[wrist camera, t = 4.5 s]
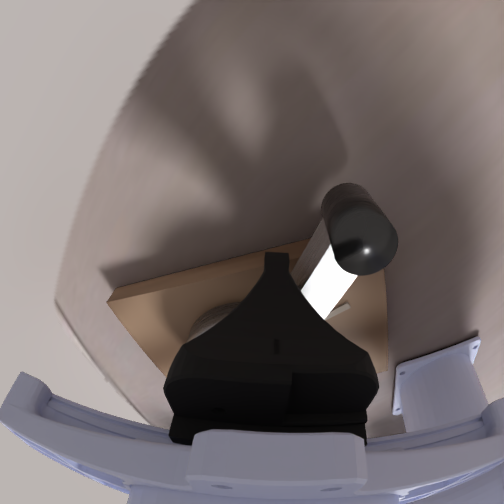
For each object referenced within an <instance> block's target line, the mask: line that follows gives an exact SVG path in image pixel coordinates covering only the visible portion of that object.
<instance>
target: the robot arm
mask: <svg viewBox="0 0 504 504" xmlns="http://www.w3.org/2000/svg"><path fill="white" fill-rule="evenodd" d="M289 263H290V259H289V253H282V252H265V257H264V271H263V273H262V275H261V276H260V278H259V280H258V281H257V283H256V284H255V285H254V287H253V288H252V289H251V291H250V292H249V293H248V295H247V296H246V297H245V298H244V299H243V300H242V301H241V302H240V304H239V305H238V306H237V307H236V308H235V309H233V310H232V311H231V312H230V313H229V314H228V315H227V316H226V317H225V318H223V319H222V320H221V321H220V322H218V323H217V324H216V325H214V326H213V327H211V328H210V329H209V330H207V331H206V332H204V333H203V334H201V335H199V336H198V337H196V338H194V339H192V340H190V341H189V342H187V343H185V344H183V345H182V346H181V347H180V349H179V351H178V352H177V354H176V356H175V358H174V360H173V362H172V364H171V366H170V368H169V371H168V374H167V378H166V381H165V384H164V387H163V389H164V394H165V396H166V398H167V400H168V402H169V405H170V407H171V409H172V411H173V413H174V416H173V420H172V423H171V427H170V430H168V429H163V428H159V427H154V426H150V425H146V424H142V423H138V422H134V421H130V420H127V419H123V418H120V417H116V416H113V415H110V414H107V413H103V412H100V411H97V410H94V409H91V408H88V407H86V406H83V405H80V404H78V403H75V402H72V401H70V400H67V399H65V398H62V397H60V396H57V395H55V394H53V393H52V392H51V390H50V389H49V388H48V386H47V385H46V384H44V383H43V382H42V381H41V380H39V379H37V378H35V377H33V376H31V375H29V374H26V373H24V372H20V374H19V376H18V377H17V379H16V381H15V382H14V384H13V386H12V388H11V390H10V391H9V393H8V395H7V397H6V399H5V400H4V402H3V404H2V406H1V408H0V422H1V423H2V424H3V425H4V426H5V427H7V428H8V429H9V430H10V431H11V432H12V433H14V434H15V435H16V436H17V437H19V438H20V439H21V440H22V441H24V442H25V443H26V444H27V445H29V446H30V447H32V448H33V449H35V450H37V451H38V452H40V453H42V454H43V455H45V456H47V457H49V458H50V459H52V460H54V461H56V462H58V463H60V464H61V465H63V466H65V467H67V468H69V469H71V470H73V471H75V472H77V473H80V474H81V475H83V476H86V477H88V478H90V479H92V480H94V481H96V482H99V483H101V484H104V485H106V486H108V487H111V488H113V489H116V490H119V491H121V492H124V493H127V494H129V498H128V501H127V504H504V398H501V399H498V400H496V401H494V402H492V403H491V404H488V401H487V399H486V396H485V393H484V391H483V388H482V386H481V383H480V381H479V378H478V376H477V374H476V371H475V369H474V367H473V362H474V360H475V357H476V354H477V351H478V349H479V346H480V343H481V339H480V337H479V336H477V337H474V338H472V339H469V340H467V341H465V342H462V343H459V344H457V345H454V346H452V347H449V348H446V349H443V350H441V351H438V352H435V353H432V354H429V355H426V356H423V357H420V358H417V359H414V360H410V361H407V362H404V363H401V364H399V365H398V366H397V367H396V378H395V390H394V400H393V409H392V413H393V415H399V414H402V415H403V419H404V424H405V429H406V433H402V434H397V435H390V436H384V437H376V438H368V439H367V437H366V429H365V423H366V422H367V412H366V409H367V408H368V406H369V405H370V403H371V402H372V400H373V398H374V397H375V395H376V394H377V391H378V389H379V382H378V377H377V373H376V370H375V367H374V365H373V362H372V360H371V358H370V355H369V353H368V352H367V351H365V350H364V349H362V348H360V347H359V346H357V345H356V344H354V343H353V342H351V341H350V340H348V339H347V338H345V337H344V336H343V335H342V334H340V333H339V332H338V331H336V330H335V329H334V328H333V327H332V326H331V325H330V324H329V323H328V322H326V321H325V320H324V319H323V318H322V317H321V316H320V315H319V313H318V312H317V311H316V310H315V309H314V308H313V307H312V305H311V304H310V303H309V302H308V300H307V299H306V298H305V296H304V295H303V294H302V292H301V291H300V289H299V288H298V286H297V284H296V283H295V281H294V279H293V277H292V276H291V274H290V272H289Z"/></svg>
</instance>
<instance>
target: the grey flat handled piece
mask: <svg viewBox="0 0 504 504" xmlns="http://www.w3.org/2000/svg"><path fill="white" fill-rule="evenodd" d="M321 211H322V216H323V218H322V220H321V222H320V224H319V225H318V227H317V229H316V231H315V232H314V234H313V236H312V237H311V239H310V241H309V243H308V244H307V246H306V248H305V249H304V251H303V253H302V255H301V256H300V258H299V260H298V261H297V263H296V265H295V266H294V268H293V270H292V271H291V273H290V274H291V276H292V277H293V279H294V281H295V283H296V284H297V286H298V288H299V289H300V291H301V292H302V294H303V295H304V296H305V298H306V299H307V300H308V302H309V303H310V304H311V305H312V307H313V308H314V309H315V310H316V311H317V312H318V313H319V315H320V316H321V317H322V318H323V319H325V318H326V317H327V315H328V314H329V313H330V311H331V310H332V309H333V308H334V306H335V305H336V304H337V302H338V301H339V300H340V298H341V297H342V296H343V294H344V293H345V292H346V290H347V289H348V288H349V286H350V285H351V284H352V282H353V281H354V279H355V278H356V277H357V275H358V276H365V275H370V274H374V273H376V272H378V271H380V270H382V269H383V268H384V267H386V266H387V265H388V264H389V263H390V262H391V260H392V259H393V257H394V255H395V253H396V251H397V247H398V236H397V233H396V230H395V229H394V227H393V225H392V224H391V223H390V221H389V220H388V219H387V217H386V216H385V215H384V213H383V212H382V210H381V209H380V208H379V207H378V205H377V204H376V203H375V201H374V200H373V199H372V197H371V196H370V195H369V194H368V192H367V191H366V190H365V189H364V188H362V187H361V186H359V185H356V184H352V183H344V184H340V185H337V186H335V187H334V188H332V189H331V190H330V191H329V192H328V193H327V194H326V196H325V197H324V199H323V202H322V207H321ZM240 302H241V301H240ZM240 302H232V303H227V304H223V305H220V306H217V307H215V308H212V309H210V310H208V311H207V312H205V313H204V314H202V315H201V316H200V317H199V318H198V319H197V320H196V321H195V323H194V324H193V326H192V328H191V331H190V334H189V337H188V340H187V342H189V341H190V340H192V339H194V338H196V337H198V336H199V335H201V334H203V333H204V332H206V331H207V330H209V329H210V328H211V327H213V326H214V325H216V324H217V323H218V322H220V321H221V320H222V319H223V318H225V317H226V316H227V315H228V314H229V313H230V312H231V311H232V310H233V309H235V308H236V307H237V306H238V305H239V304H240Z"/></svg>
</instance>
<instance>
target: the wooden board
mask: <svg viewBox="0 0 504 504" xmlns="http://www.w3.org/2000/svg"><path fill="white" fill-rule="evenodd" d="M310 239H311V238H309V239H305V240H301V241H298V242H294V243H290V244H286V245H282V246H278V247H274V248H270V249H267V250H263V251H259V252H255V253H251V254H247V255H243V256H239V257H235V258H232V259H228V260H224V261H220V262H216V263H212V264H208V265H204V266H200V267H196V268H193V269H189V270H185V271H181V272H177V273H173V274H169V275H165V276H161V277H157V278H154V279H150V280H146V281H142V282H138V283H134V284H130V285H126V286H122V287H118V288H116V289H115V291H114V292H113V293H112V295H111V296H110V298H109V299H108V301H107V302H106V303H107V304H108V305H109V307H110V308H111V310H112V311H113V312H114V314H115V315H116V316H117V318H118V319H119V320H120V322H121V323H122V324H123V326H124V327H125V328H126V330H127V331H128V332H129V333H130V335H131V336H132V337H133V339H134V340H135V341H136V342H137V344H138V345H139V346H140V347H141V348H142V350H143V351H144V352H145V353H146V354H147V356H148V357H149V358H150V359H151V360H152V362H153V363H154V364H155V365H156V366H157V367H158V368H159V370H160V371H161V372H162V373H163V374H164V375H165V376H166V377H167V374H168V371H169V368H170V366H171V364H172V362H173V360H174V358H175V356H176V354H177V352H178V351H179V349H180V347H181V346H182V345H183V344H185V343H187V340H188V337H189V334H190V331H191V328H192V326H193V324H194V323H195V321H196V320H197V319H198V318H199V317H200V316H201V315H202V314H204V313H205V312H207V311H208V310H210V309H212V308H215V307H217V306H220V305H223V304H227V303H232V302H240V301H242V300H243V299H244V298H245V297H246V296H247V295H248V293H249V292H250V291H251V289H252V288H253V287H254V285H255V284H256V283H257V281H258V280H259V278H260V276H261V275H262V273H263V271H264V257H265V252H282V253H289V259H290V263H289V272H290V273H291V271H292V270H293V268H294V266H295V265H296V263H297V261H298V260H299V258H300V256H301V255H302V253H303V251H304V249H305V248H306V246H307V244H308V243H309V241H310ZM324 320H325V321H326V322H328V323H329V324H330V325H331V326H332V327H333V328H334V329H335V330H336V331H338V332H339V333H340V334H342V335H343V336H344V337H345V338H347V339H348V340H350V341H351V342H353V343H354V344H356V345H357V346H359V347H360V348H362V349H364V350H365V351H367V352H368V353H369V355H370V358H371V360H372V362H373V365H374V367H375V370H376V373H380V372H384V371H388V322H387V301H386V286H385V274H384V268H383V269H382V270H380V271H378V272H376V273H374V274H370V275H365V276H358V275H357V277H356V278H355V279H354V281H353V282H352V284H351V285H350V286H349V288H348V289H347V290H346V292H345V293H344V294H343V296H342V297H341V298H340V300H339V301H338V302H337V304H336V305H335V306H334V308H333V309H332V310H331V311H330V313H329V314H328V315H327V317H326V318H325V319H324Z"/></svg>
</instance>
